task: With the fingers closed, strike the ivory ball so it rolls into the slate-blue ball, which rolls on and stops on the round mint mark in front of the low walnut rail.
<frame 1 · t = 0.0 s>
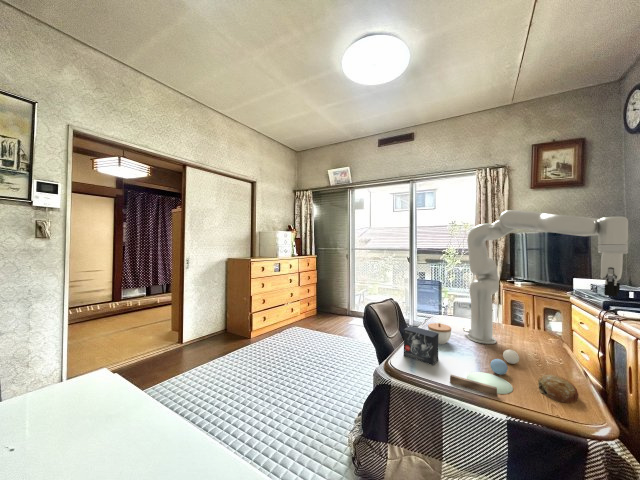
hand: (612, 294, 99), 31 cm above the table, tool pointing down, fingers open, 9 cm apart
cue ball: (511, 356, 109), on the table
blue ball: (498, 366, 101), on the table
lidded jar: (439, 342, 132), on the table
small box: (420, 358, 114), on the table
walnut rail: (472, 388, 91), on the table
mint mark: (488, 382, 94), on the table
bread roll: (557, 395, 88), on the table
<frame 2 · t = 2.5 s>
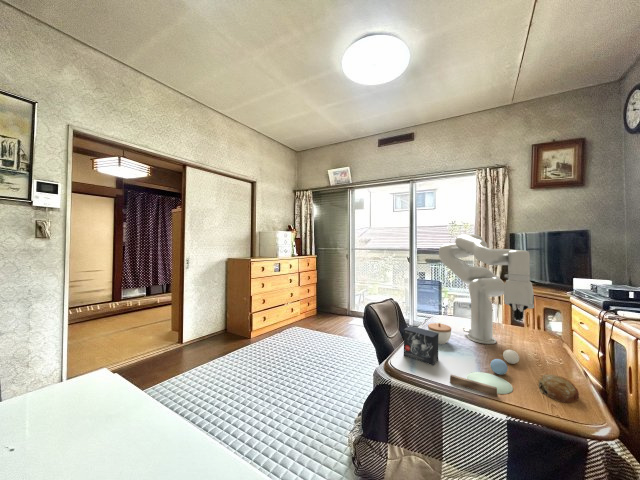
hand: (518, 319, 115), 17 cm above the table, tool pointing down, fingers closed
nothing on the table moved.
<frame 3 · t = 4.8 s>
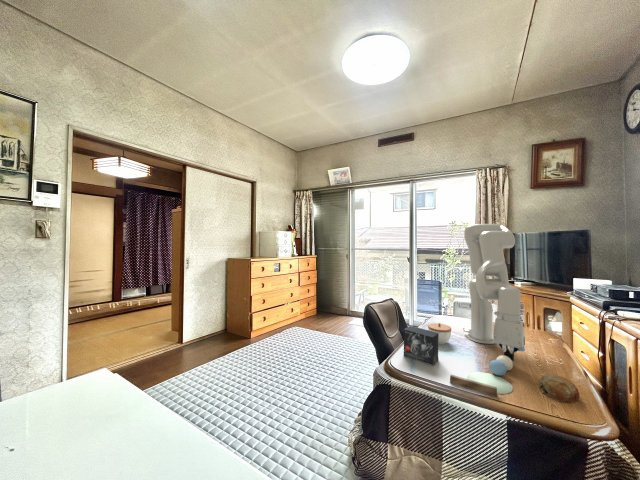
hand: (508, 361, 107), 2 cm above the table, tool pointing down, fingers closed
cue ball: (504, 362, 104), on the table
blue ball: (497, 367, 100), on the table
everything else where it was.
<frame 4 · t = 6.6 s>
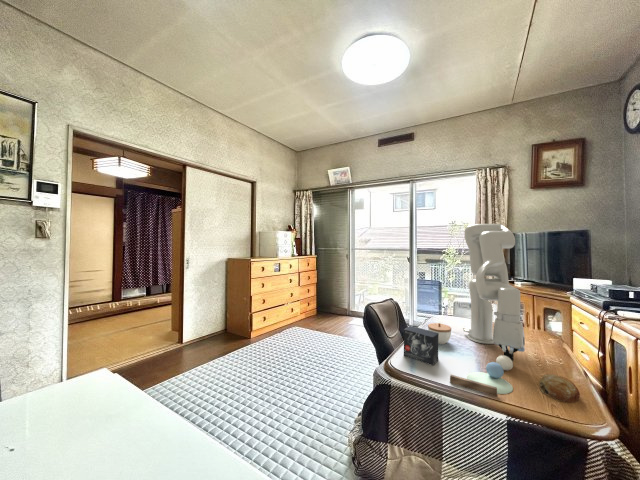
hand: (508, 361, 107), 2 cm above the table, tool pointing down, fingers closed
blue ball: (494, 370, 98), on the table
everything else where it was.
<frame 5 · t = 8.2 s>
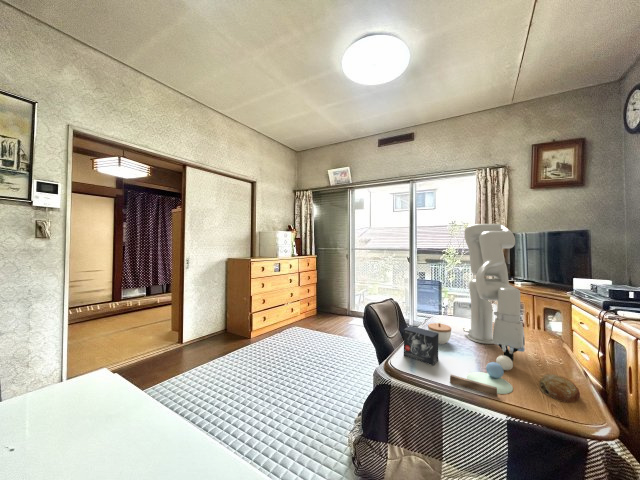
hand: (508, 361, 107), 2 cm above the table, tool pointing down, fingers closed
nothing on the table moved.
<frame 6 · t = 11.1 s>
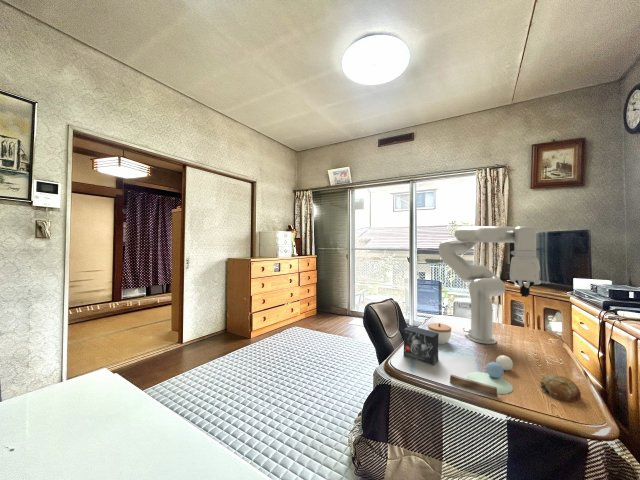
hand: (524, 296, 114), 27 cm above the table, tool pointing down, fingers closed
at the end: blue ball 5.7 cm from the mint mark (horizontally); blue ball never touched the robot; cue ball first touched blue ball at 4.7 s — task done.
